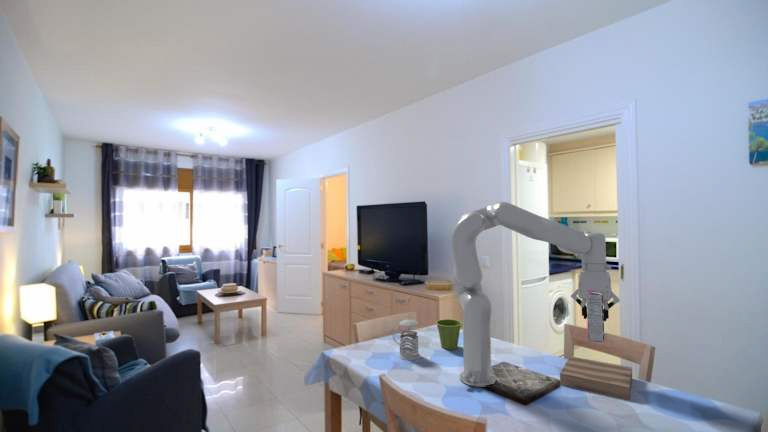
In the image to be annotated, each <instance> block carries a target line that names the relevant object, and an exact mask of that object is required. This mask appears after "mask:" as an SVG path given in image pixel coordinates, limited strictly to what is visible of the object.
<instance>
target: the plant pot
mask: <svg viewBox="0 0 768 432" xmlns="http://www.w3.org/2000/svg"><path fill="white" fill-rule="evenodd" d="M435 324H436V325H437V326H436V327H437V329H438V336H439V340H440V341H439V342H440V346H441V348H442V349H446V350H449V351H450V350H452V351H453V350H455V349H457V348H458V347H459V346H458V345H459V338H460V332H461V328H462V326H463V321H460V320H458V319H452V318H451V319H449V318H444V319H443V318H442V319H438V320H436V321H435Z"/></svg>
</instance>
